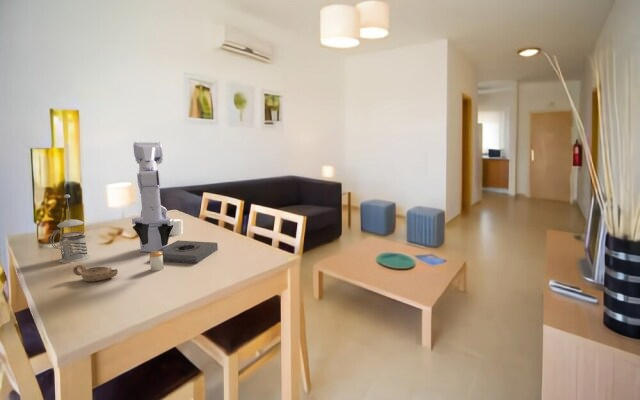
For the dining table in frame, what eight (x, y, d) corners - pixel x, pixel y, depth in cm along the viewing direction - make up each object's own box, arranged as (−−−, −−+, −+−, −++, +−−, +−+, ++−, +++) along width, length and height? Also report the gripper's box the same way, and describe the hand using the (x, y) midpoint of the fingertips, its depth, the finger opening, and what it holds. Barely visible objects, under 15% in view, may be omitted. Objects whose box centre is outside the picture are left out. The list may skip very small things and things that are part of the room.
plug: (148, 270, 110) (146, 254, 109) (156, 266, 114) (154, 250, 113) (158, 271, 109) (157, 255, 108) (166, 267, 113) (164, 251, 112)
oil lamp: (123, 274, 107) (121, 260, 106) (109, 284, 100) (107, 269, 99) (84, 274, 107) (82, 260, 106) (67, 284, 99) (65, 269, 99)
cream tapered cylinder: (187, 232, 157) (186, 219, 155) (176, 236, 150) (175, 222, 149) (176, 231, 159) (175, 218, 158) (165, 235, 153) (164, 221, 151)
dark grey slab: (153, 260, 119) (152, 253, 119) (178, 247, 135) (177, 240, 134) (196, 263, 117) (196, 255, 116) (217, 249, 132) (217, 242, 132)
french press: (96, 256, 124) (88, 193, 119) (62, 266, 113) (52, 198, 109) (82, 252, 128) (73, 191, 124) (47, 262, 118) (37, 196, 113)
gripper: (123, 207, 105) (127, 247, 107) (163, 209, 102) (166, 249, 105) (139, 203, 112) (142, 240, 114) (176, 205, 109) (179, 243, 112)
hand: (155, 244), depth 110 cm, fingers open, 7 cm apart
